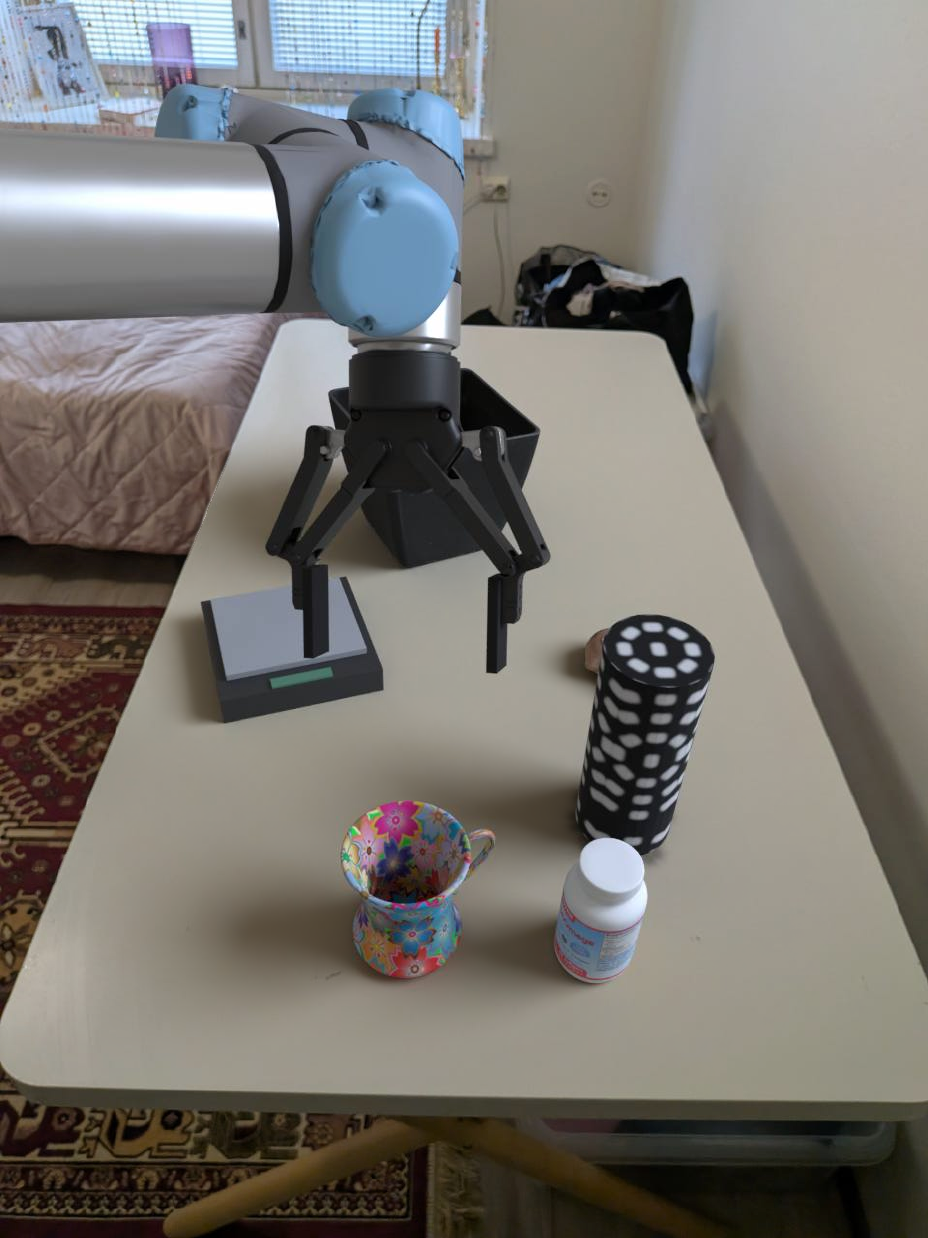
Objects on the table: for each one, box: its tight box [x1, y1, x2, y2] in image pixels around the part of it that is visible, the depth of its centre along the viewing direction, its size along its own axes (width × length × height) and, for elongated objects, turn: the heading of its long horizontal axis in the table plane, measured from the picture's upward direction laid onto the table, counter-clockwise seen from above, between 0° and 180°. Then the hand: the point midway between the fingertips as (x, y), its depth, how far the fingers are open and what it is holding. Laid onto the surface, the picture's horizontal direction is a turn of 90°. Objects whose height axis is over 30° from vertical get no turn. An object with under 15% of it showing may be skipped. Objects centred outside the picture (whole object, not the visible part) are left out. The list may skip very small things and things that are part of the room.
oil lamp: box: [584, 627, 610, 675], centre depth 96 cm, size 9×4×8 cm
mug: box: [340, 800, 496, 979], centre depth 70 cm, size 12×9×11 cm
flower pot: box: [327, 367, 541, 568], centre depth 111 cm, size 19×19×17 cm
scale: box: [200, 575, 385, 724], centre depth 96 cm, size 16×16×4 cm
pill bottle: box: [553, 838, 648, 984], centre depth 69 cm, size 6×6×11 cm
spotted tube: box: [575, 613, 716, 856], centre depth 76 cm, size 8×8×20 cm
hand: (403, 662), depth 66 cm, fingers open, 13 cm apart
